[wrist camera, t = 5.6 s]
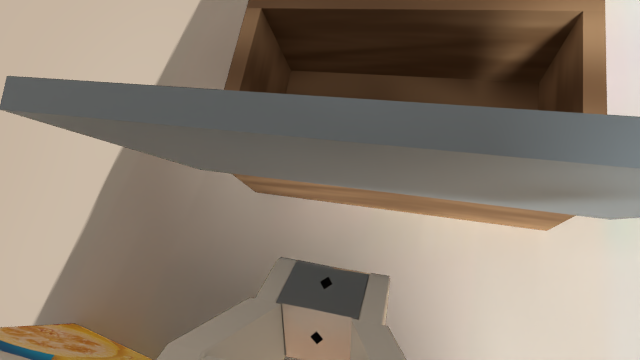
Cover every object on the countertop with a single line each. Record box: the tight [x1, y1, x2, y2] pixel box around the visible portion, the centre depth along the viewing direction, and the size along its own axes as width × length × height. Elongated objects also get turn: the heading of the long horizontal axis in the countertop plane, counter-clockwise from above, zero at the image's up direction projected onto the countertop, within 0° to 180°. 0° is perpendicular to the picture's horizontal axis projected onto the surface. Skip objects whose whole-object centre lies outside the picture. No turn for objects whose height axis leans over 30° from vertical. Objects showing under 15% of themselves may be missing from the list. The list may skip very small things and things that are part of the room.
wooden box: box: [224, 0, 607, 231], centre depth 25 cm, size 11×20×8 cm, turn 80°
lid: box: [0, 76, 640, 219], centre depth 14 cm, size 11×20×1 cm
